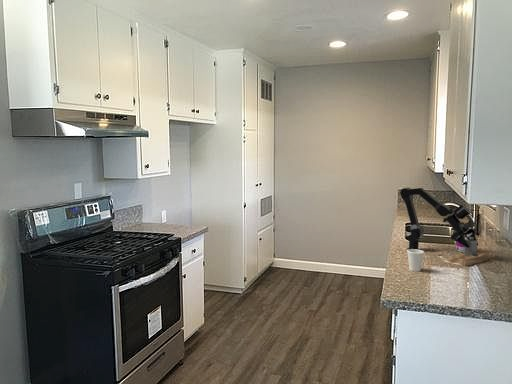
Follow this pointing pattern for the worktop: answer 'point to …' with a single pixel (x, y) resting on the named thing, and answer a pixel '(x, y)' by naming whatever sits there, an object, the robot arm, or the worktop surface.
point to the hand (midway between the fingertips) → (473, 246)
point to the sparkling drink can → (461, 247)
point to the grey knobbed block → (471, 247)
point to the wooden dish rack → (466, 259)
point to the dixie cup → (415, 259)
